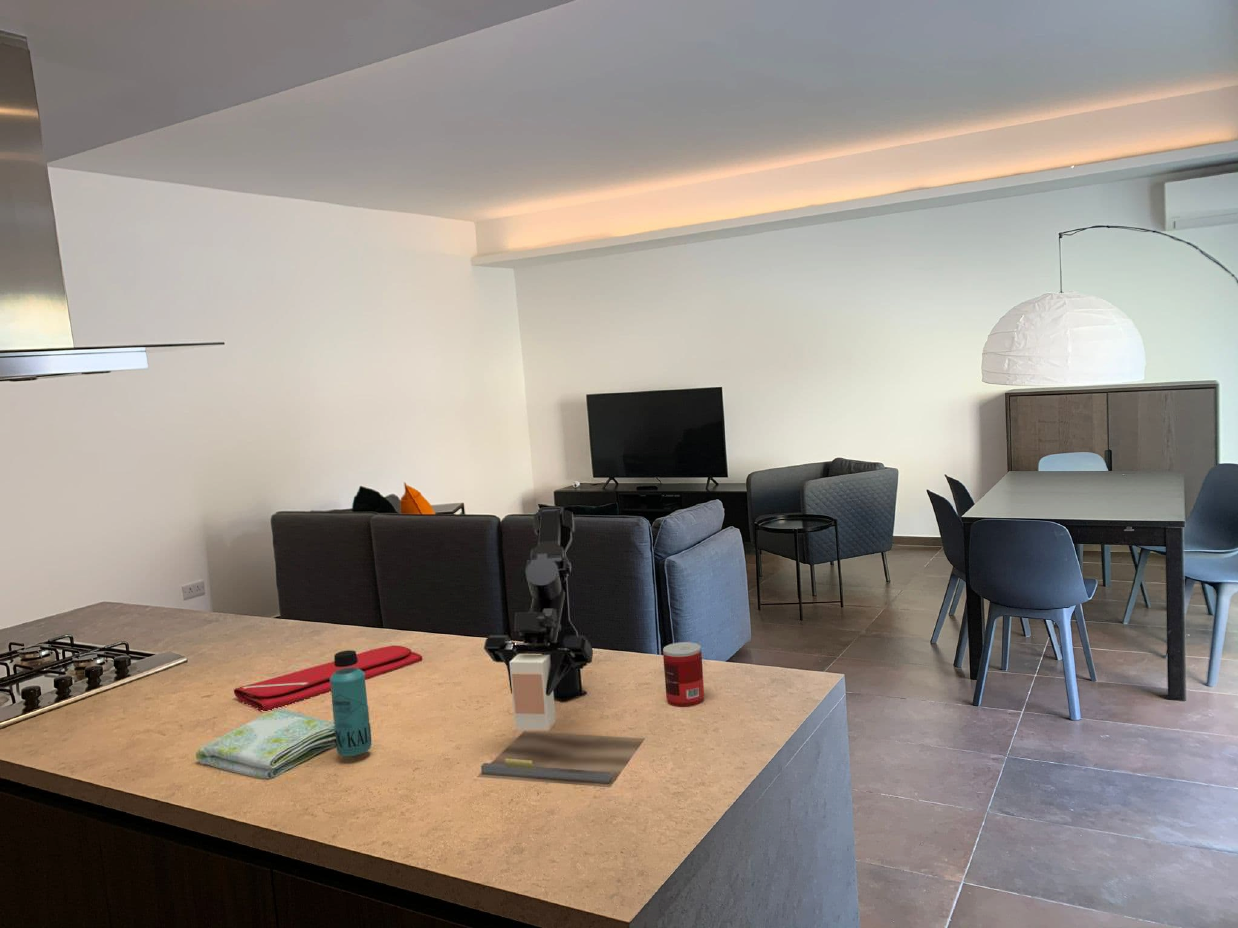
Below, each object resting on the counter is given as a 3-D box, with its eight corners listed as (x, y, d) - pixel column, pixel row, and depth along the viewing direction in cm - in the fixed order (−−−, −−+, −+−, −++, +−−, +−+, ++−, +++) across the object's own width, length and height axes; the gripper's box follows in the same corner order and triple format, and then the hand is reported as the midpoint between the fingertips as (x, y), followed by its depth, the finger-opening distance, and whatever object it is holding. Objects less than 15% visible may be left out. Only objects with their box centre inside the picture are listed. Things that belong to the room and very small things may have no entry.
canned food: (709, 694, 185) (706, 642, 184) (696, 708, 178) (692, 654, 177) (675, 691, 188) (671, 640, 187) (660, 705, 181) (656, 652, 180)
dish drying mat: (424, 662, 224) (422, 648, 223) (265, 715, 194) (263, 699, 194) (389, 652, 234) (387, 638, 234) (233, 701, 205) (231, 685, 205)
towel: (270, 783, 159) (267, 756, 158) (195, 765, 169) (192, 739, 169) (348, 744, 174) (345, 718, 174) (275, 729, 185) (272, 705, 184)
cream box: (523, 719, 159) (517, 654, 158) (555, 720, 158) (550, 654, 156) (515, 729, 155) (508, 662, 154) (547, 730, 153) (541, 662, 152)
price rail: (485, 770, 154) (484, 756, 154) (612, 779, 147) (611, 765, 147) (481, 774, 153) (480, 760, 152) (609, 784, 145) (608, 769, 145)
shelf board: (524, 736, 170) (524, 731, 170) (645, 743, 163) (645, 738, 163) (477, 782, 152) (476, 776, 152) (610, 792, 144) (610, 786, 144)
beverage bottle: (341, 751, 170) (330, 648, 168) (376, 747, 170) (366, 645, 168) (333, 766, 163) (321, 659, 161) (370, 762, 164) (359, 655, 162)
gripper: (482, 591, 160) (463, 673, 151) (582, 590, 155) (568, 674, 146) (503, 621, 169) (485, 700, 159) (598, 621, 164) (586, 702, 154)
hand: (529, 694), depth 154 cm, fingers closed on cream box, 6 cm apart
